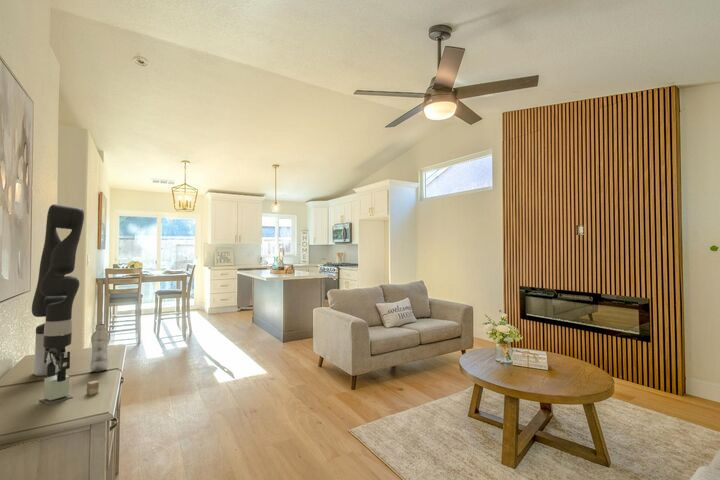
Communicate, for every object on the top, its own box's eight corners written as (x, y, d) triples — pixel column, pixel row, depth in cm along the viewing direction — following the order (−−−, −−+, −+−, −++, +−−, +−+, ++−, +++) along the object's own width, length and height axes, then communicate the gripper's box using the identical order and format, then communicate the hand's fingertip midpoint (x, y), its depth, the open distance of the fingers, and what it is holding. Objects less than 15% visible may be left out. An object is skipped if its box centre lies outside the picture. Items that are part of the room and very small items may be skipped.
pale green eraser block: (43, 397, 122) (44, 378, 122) (62, 392, 126) (62, 373, 127) (50, 400, 119) (50, 380, 120) (68, 395, 124) (69, 376, 124)
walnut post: (39, 400, 121) (40, 380, 122) (63, 393, 128) (64, 374, 128) (47, 405, 118) (48, 384, 118) (72, 397, 124) (73, 377, 124)
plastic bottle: (98, 374, 148) (100, 326, 149) (85, 372, 149) (87, 325, 150) (112, 369, 154) (113, 323, 155) (99, 367, 156) (101, 322, 156)
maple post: (86, 393, 128) (87, 382, 128) (94, 391, 130) (95, 380, 130) (90, 395, 126) (90, 384, 126) (98, 392, 129) (98, 381, 129)
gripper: (36, 331, 124) (34, 377, 123) (53, 337, 117) (50, 386, 116) (62, 327, 130) (60, 371, 130) (80, 333, 123) (77, 379, 123)
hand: (55, 378), depth 123 cm, fingers open, 8 cm apart
